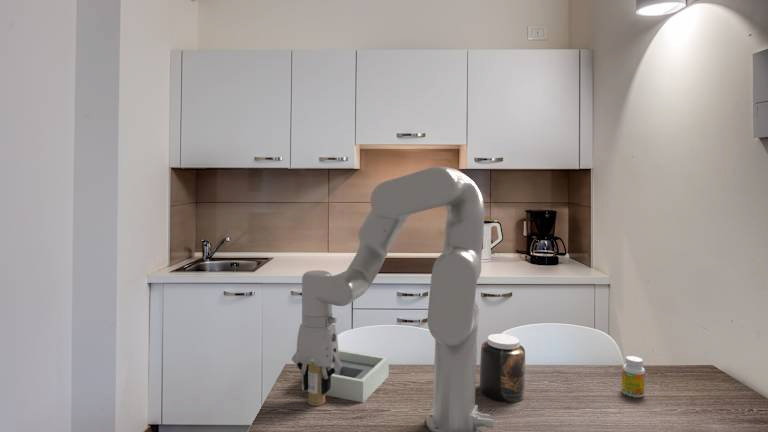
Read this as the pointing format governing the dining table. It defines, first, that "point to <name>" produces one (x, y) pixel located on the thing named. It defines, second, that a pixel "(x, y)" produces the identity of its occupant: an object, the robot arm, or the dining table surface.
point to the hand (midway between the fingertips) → (316, 389)
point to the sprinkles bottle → (315, 385)
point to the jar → (502, 368)
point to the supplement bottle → (633, 377)
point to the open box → (357, 376)
